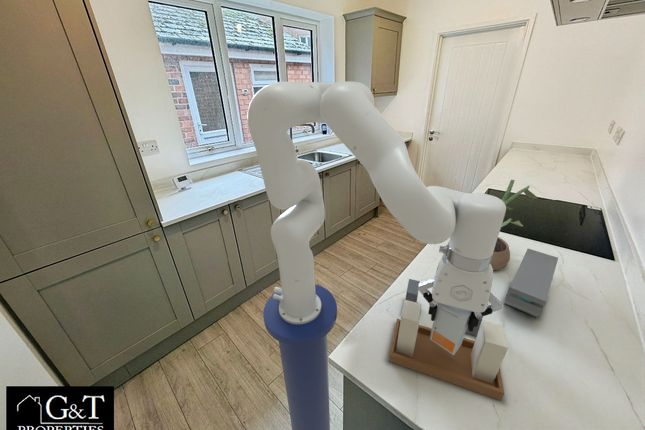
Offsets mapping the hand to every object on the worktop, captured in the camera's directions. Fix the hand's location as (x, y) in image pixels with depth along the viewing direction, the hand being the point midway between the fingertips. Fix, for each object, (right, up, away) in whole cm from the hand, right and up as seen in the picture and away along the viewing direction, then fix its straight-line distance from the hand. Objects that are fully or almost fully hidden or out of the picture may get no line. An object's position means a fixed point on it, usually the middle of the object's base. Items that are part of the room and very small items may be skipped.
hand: (451, 321), depth 59 cm
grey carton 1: (-3, -4, +20) cm, 20 cm away
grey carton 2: (+12, -7, +14) cm, 19 cm away
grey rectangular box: (+33, -2, +22) cm, 40 cm away
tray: (0, -11, +6) cm, 13 cm away
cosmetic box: (0, -7, +3) cm, 7 cm away
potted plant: (+34, +8, +42) cm, 55 cm away
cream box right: (+8, -12, +2) cm, 15 cm away
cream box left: (-7, -9, +8) cm, 15 cm away
